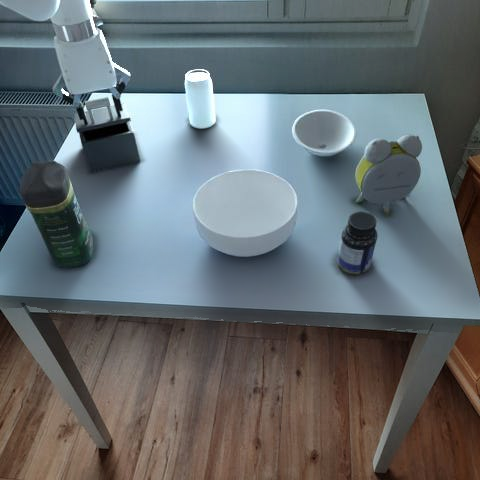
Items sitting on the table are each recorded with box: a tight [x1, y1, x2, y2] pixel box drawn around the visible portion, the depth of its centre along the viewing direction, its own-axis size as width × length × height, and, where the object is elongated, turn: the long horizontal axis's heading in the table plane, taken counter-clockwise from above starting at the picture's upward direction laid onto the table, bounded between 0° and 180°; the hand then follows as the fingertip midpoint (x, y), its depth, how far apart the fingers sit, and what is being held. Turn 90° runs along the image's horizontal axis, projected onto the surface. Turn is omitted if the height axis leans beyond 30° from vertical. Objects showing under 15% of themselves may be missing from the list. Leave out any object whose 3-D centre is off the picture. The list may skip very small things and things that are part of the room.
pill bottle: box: [336, 210, 379, 276], centre depth 84 cm, size 6×6×11 cm
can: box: [184, 69, 216, 129], centre depth 115 cm, size 6×6×12 cm
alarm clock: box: [354, 134, 423, 216], centre depth 92 cm, size 12×7×15 cm, turn 99°
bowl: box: [192, 168, 299, 258], centre depth 91 cm, size 20×20×8 cm
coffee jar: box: [19, 160, 94, 269], centre depth 86 cm, size 10×8×19 cm
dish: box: [291, 109, 357, 157], centre depth 108 cm, size 18×14×5 cm
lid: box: [73, 96, 132, 134], centre depth 104 cm, size 12×12×5 cm
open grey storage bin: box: [78, 121, 141, 173], centre depth 110 cm, size 12×12×8 cm
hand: (102, 117), depth 102 cm, fingers open, 6 cm apart
